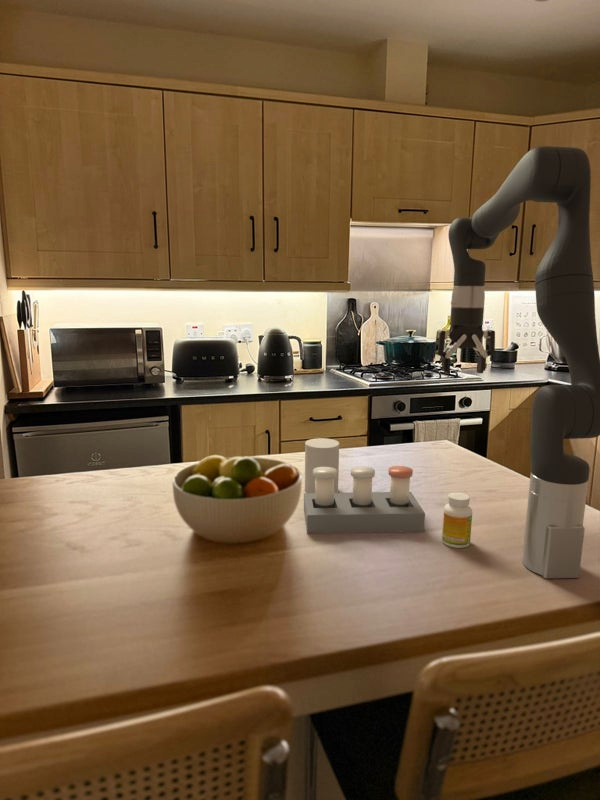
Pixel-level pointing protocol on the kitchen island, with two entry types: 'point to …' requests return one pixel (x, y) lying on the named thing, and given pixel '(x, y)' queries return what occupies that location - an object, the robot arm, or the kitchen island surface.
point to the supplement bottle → (457, 521)
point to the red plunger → (400, 484)
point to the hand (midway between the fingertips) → (463, 373)
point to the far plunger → (324, 485)
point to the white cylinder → (320, 460)
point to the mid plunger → (362, 484)
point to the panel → (363, 515)
